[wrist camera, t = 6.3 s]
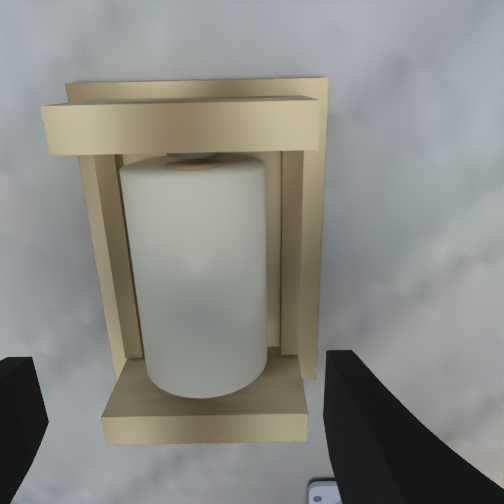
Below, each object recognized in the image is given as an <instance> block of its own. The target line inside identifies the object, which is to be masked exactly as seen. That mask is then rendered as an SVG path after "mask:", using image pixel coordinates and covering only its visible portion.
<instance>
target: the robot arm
mask: <svg viewBox="0 0 504 504" xmlns="http://www.w3.org/2000/svg"><path fill="white" fill-rule="evenodd" d="M323 419H324V426H325V432H326V439H327V445H328V451H329V457H330V461H331V465H332V468H333V472H334V476H335V480H336V481H317V482H313V483H311V484H310V485H309V488H308V504H504V489H503V488H501V487H500V486H499V485H497V484H496V483H495V482H493V481H492V480H490V479H489V478H488V477H486V476H485V475H484V474H482V473H481V472H480V471H478V470H477V469H476V468H475V467H473V466H472V465H471V464H470V463H468V462H467V461H466V460H464V459H463V458H462V457H461V456H459V455H458V454H457V453H455V452H454V451H453V450H452V449H451V448H449V447H448V446H447V445H446V444H445V443H443V442H442V441H441V440H440V439H439V438H438V437H437V436H435V435H434V434H433V433H432V432H431V431H430V430H429V429H428V428H427V427H425V426H424V425H423V424H422V423H421V422H420V421H419V420H418V419H417V418H416V417H415V416H414V415H413V414H412V413H411V412H410V411H409V410H408V409H407V408H406V407H405V406H404V405H403V404H402V403H401V402H400V401H399V400H398V399H397V398H396V397H395V396H394V395H393V394H392V393H391V392H390V391H389V390H388V389H387V388H386V387H385V386H384V385H383V384H382V383H381V382H380V381H379V379H378V378H377V377H376V376H375V375H374V374H373V373H372V372H371V371H370V370H369V368H368V367H367V366H366V365H365V364H364V363H363V362H362V361H361V359H360V358H359V357H358V356H357V355H356V354H355V353H354V352H353V351H352V350H329V351H326V371H325V390H324V410H323ZM48 423H49V421H48V417H47V413H46V409H45V405H44V401H43V397H42V393H41V390H40V386H39V382H38V378H37V374H36V370H35V366H34V363H33V359H32V357H7V358H5V359H3V360H1V361H0V504H10V503H11V501H12V499H13V497H14V496H15V494H16V492H17V490H18V488H19V487H20V485H21V483H22V481H23V479H24V477H25V476H26V474H27V472H28V470H29V468H30V466H31V465H32V463H33V460H34V458H35V456H36V453H37V451H38V449H39V446H40V444H41V441H42V439H43V436H44V434H45V431H46V428H47V426H48Z"/></svg>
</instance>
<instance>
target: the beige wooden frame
mask: <svg viewBox="0 0 504 504" xmlns="http://www.w3.org/2000/svg"><path fill="white" fill-rule="evenodd" d="M65 86H66V91H67V97H68V103H62V104H53V105H45V106H40V107H41V112H42V118H43V123H44V128H45V133H46V138H47V143H48V148H49V153H50V156H54V155H78V161H79V167H80V173H81V179H82V185H83V190H84V196H85V202H86V208H87V214H88V220H89V225H90V231H91V237H92V243H93V249H94V255H95V260H96V266H97V272H98V278H99V284H100V290H101V295H102V301H103V307H104V313H105V319H106V325H107V330H108V336H109V342H110V348H111V354H112V360H113V365H114V371H115V377H116V385H115V387H114V389H113V392H112V394H111V396H110V398H109V401H108V403H107V405H106V407H105V410H104V412H103V414H102V416H101V419H102V424H103V430H104V435H105V440H106V445H122V444H178V443H234V442H290V441H307V429H308V410H307V404H306V399H305V393H304V387H303V381H302V380H304V379H316V357H317V335H318V312H319V290H320V267H321V245H322V222H323V200H324V177H325V155H326V133H327V110H328V88H329V78H293V79H246V80H199V81H152V82H105V83H65ZM218 154H230V155H241V156H248V157H253V158H257V159H260V160H262V161H264V162H265V164H266V279H267V362H266V365H265V368H264V370H263V371H262V373H261V374H260V375H259V376H258V377H257V378H256V379H255V380H254V381H253V382H252V383H250V384H249V385H247V386H246V387H244V388H242V389H240V390H238V391H235V392H233V393H230V394H227V395H223V396H218V397H212V398H187V397H181V396H177V395H173V394H171V393H168V392H166V391H164V390H162V389H160V388H159V387H158V386H156V385H155V384H154V383H153V382H152V381H151V379H150V377H149V376H148V373H147V368H146V361H145V353H144V346H143V339H142V331H141V324H140V317H139V310H138V302H137V295H136V288H135V281H134V273H133V266H132V259H131V251H130V244H129V237H128V230H127V222H126V215H125V208H124V201H123V193H122V186H121V179H120V171H119V170H120V168H122V167H123V166H125V165H127V164H130V163H133V162H136V161H140V160H145V159H150V158H157V157H164V156H168V157H172V158H204V157H211V156H215V155H218Z"/></svg>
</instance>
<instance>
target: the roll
mask: <svg viewBox="0 0 504 504" xmlns="http://www.w3.org/2000/svg"><path fill="white" fill-rule="evenodd" d="M119 171H120V179H121V186H122V193H123V201H124V208H125V215H126V222H127V230H128V237H129V244H130V251H131V259H132V266H133V273H134V281H135V288H136V295H137V302H138V310H139V317H140V324H141V331H142V339H143V346H144V353H145V361H146V368H147V373H148V376H149V377H150V379H151V381H152V382H153V383H154V384H155V385H156V386H158V387H159V388H160V389H162V390H164V391H166V392H168V393H171V394H173V395H177V396H181V397H187V398H212V397H218V396H223V395H227V394H230V393H233V392H235V391H238V390H240V389H242V388H244V387H246V386H247V385H249V384H250V383H252V382H253V381H254V380H255V379H256V378H257V377H258V376H259V375H260V374H261V373H262V371H263V370H264V368H265V365H266V362H267V279H266V164H265V162H264V161H262V160H260V159H257V158H253V157H248V156H241V155H230V154H218V155H215V156H211V157H204V158H172V157H168V156H164V157H157V158H150V159H145V160H140V161H136V162H133V163H130V164H127V165H125V166H123V167H122V168H120V170H119Z"/></svg>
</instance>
